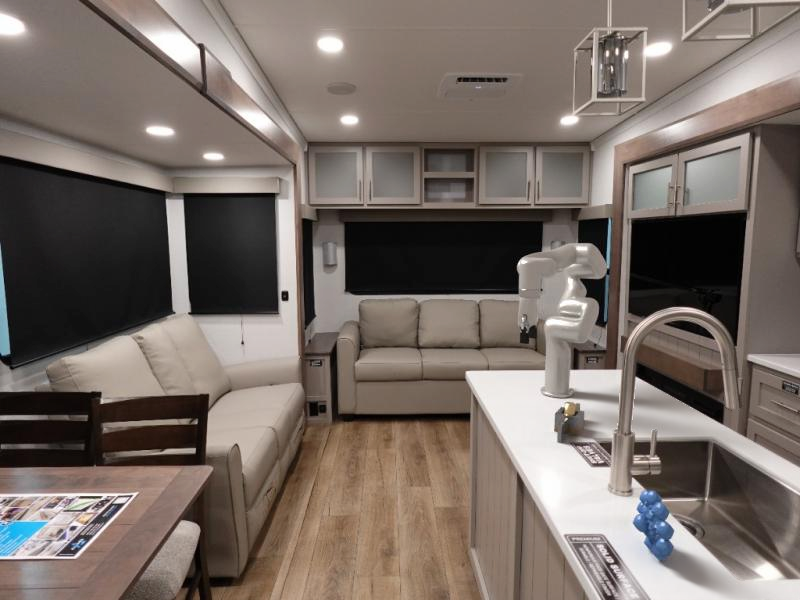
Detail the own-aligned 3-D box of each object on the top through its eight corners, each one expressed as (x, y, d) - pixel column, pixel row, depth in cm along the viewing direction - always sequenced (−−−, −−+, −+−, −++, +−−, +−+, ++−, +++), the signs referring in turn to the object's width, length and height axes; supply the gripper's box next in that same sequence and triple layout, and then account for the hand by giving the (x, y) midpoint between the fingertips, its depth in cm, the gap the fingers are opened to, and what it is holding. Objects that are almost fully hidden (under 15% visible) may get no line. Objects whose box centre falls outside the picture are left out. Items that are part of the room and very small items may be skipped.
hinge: (566, 416, 167) (567, 400, 166) (589, 421, 163) (589, 404, 162) (546, 439, 148) (547, 421, 147) (571, 445, 144) (572, 426, 143)
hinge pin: (565, 427, 158) (566, 401, 156) (575, 429, 156) (576, 403, 155) (562, 430, 155) (563, 404, 154) (572, 432, 153) (573, 405, 152)
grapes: (618, 532, 101) (622, 479, 99) (651, 533, 100) (655, 480, 99) (643, 570, 89) (647, 510, 88) (680, 571, 89) (685, 511, 87)
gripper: (526, 290, 178) (525, 335, 181) (511, 296, 164) (510, 344, 166) (546, 291, 174) (545, 337, 177) (533, 297, 160) (531, 347, 162)
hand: (528, 340), depth 171 cm, fingers open, 9 cm apart
